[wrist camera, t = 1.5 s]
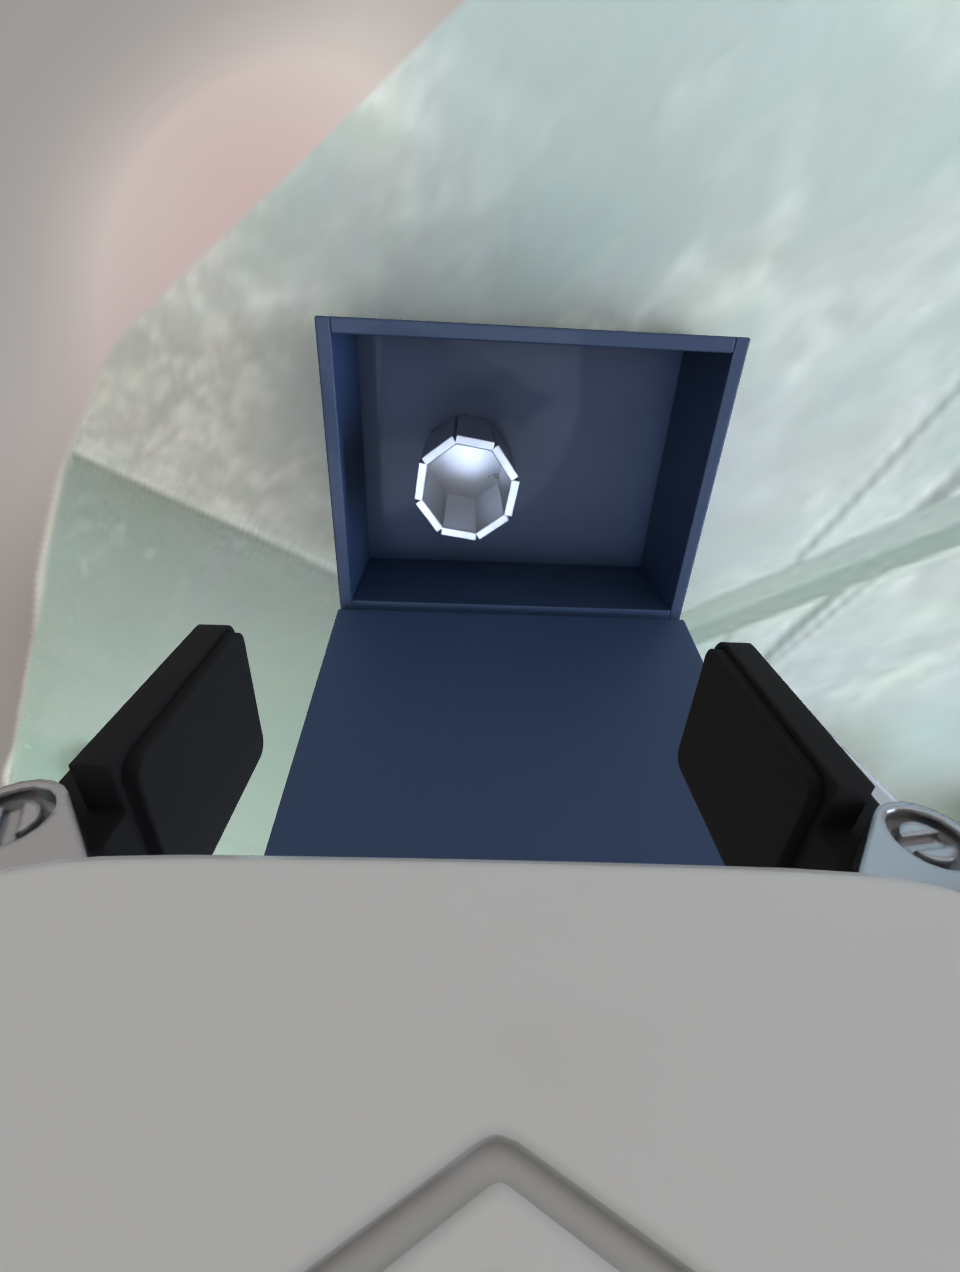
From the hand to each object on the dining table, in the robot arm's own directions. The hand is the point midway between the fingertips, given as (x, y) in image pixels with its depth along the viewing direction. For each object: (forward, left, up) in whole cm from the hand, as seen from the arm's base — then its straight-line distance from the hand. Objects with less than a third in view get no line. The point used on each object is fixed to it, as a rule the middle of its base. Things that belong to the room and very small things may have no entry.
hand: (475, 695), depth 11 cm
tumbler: (0, 0, -22) cm, 22 cm away
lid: (+7, -3, -9) cm, 12 cm away
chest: (+1, +2, -23) cm, 23 cm away
